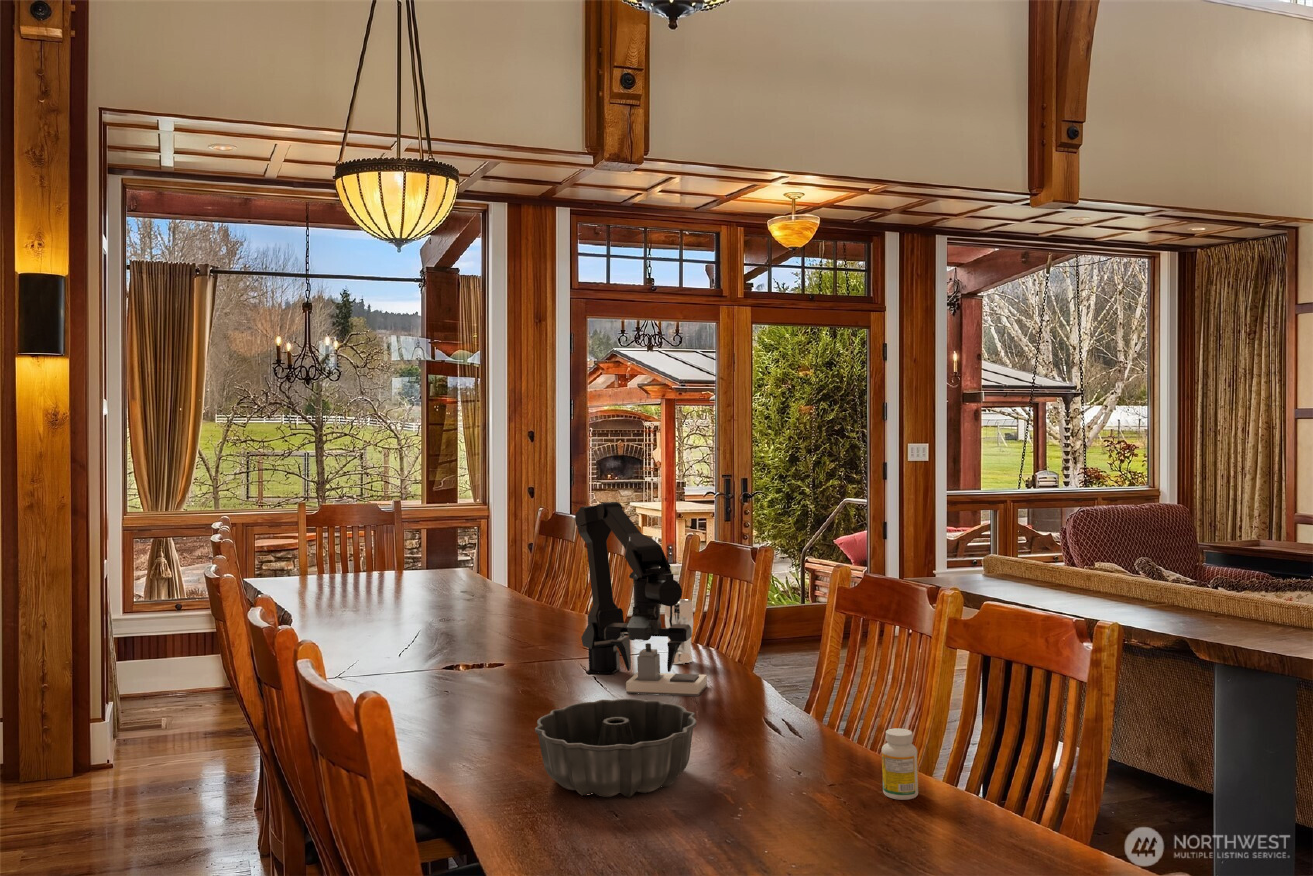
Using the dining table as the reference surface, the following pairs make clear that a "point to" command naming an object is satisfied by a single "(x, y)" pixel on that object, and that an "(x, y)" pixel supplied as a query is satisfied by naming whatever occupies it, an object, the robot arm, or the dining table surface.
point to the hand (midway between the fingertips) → (648, 671)
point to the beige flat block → (669, 685)
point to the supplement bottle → (899, 765)
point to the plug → (648, 664)
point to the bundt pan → (616, 745)
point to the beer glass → (681, 615)
